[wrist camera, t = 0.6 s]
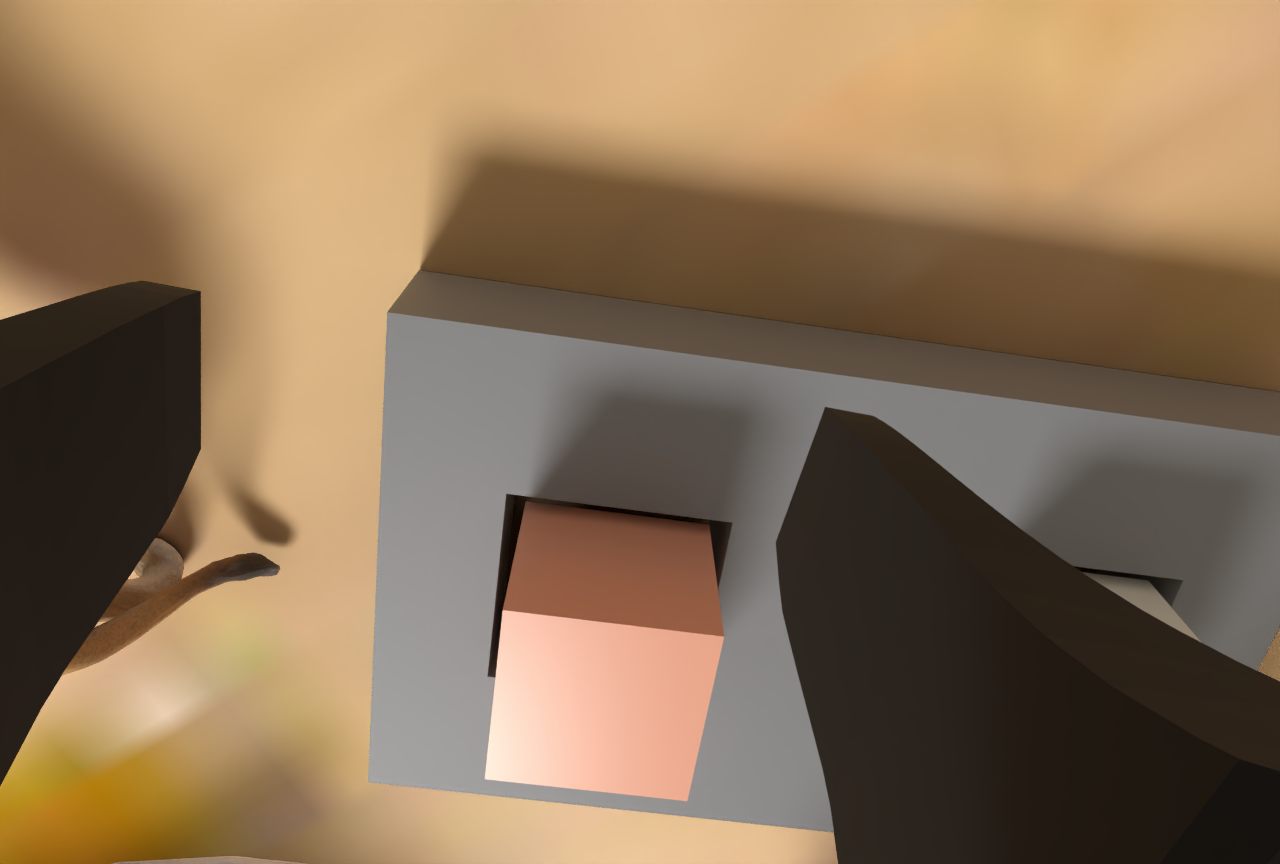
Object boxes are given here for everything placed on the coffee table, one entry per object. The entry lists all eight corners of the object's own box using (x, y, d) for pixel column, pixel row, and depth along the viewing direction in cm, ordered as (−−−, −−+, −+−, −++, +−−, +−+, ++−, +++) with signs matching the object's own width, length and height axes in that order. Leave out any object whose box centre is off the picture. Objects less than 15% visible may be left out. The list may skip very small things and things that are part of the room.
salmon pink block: (679, 671, 23) (687, 801, 19) (509, 650, 23) (484, 779, 19) (709, 524, 21) (724, 636, 18) (526, 501, 21) (502, 609, 17)
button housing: (1104, 779, 28) (1156, 866, 25) (395, 699, 26) (368, 782, 24) (1282, 392, 23) (1371, 448, 20) (419, 270, 21) (387, 312, 19)
